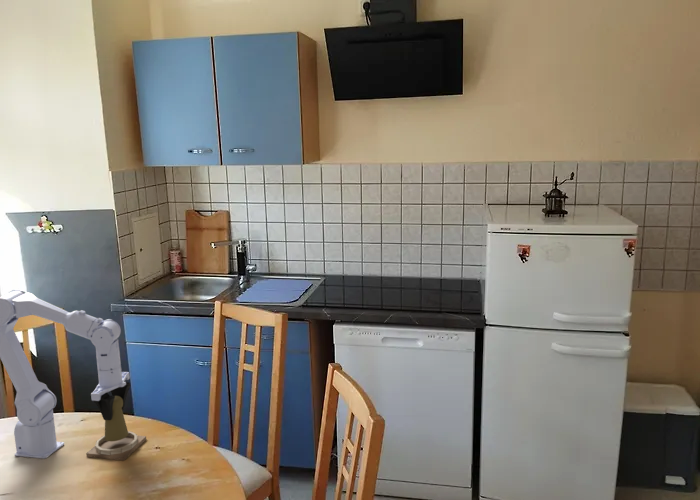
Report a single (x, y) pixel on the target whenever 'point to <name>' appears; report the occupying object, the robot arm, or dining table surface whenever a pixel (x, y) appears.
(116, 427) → the cork
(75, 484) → the dining table surface
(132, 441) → the cup holder
